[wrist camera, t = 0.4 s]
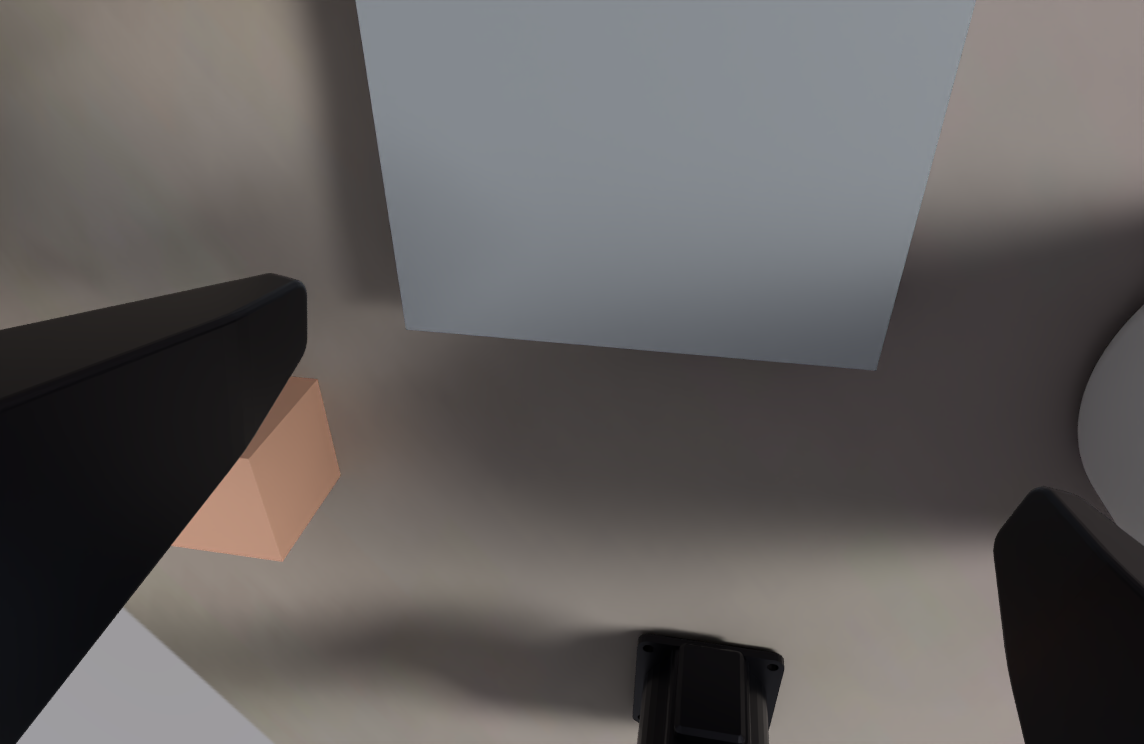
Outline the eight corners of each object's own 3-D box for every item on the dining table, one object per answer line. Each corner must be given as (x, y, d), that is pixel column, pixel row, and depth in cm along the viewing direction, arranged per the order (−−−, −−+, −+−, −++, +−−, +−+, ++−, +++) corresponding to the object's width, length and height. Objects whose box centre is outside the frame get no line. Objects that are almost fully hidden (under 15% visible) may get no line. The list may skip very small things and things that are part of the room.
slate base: (860, 319, 23) (875, 370, 20) (438, 287, 25) (405, 329, 22) (1001, -265, 15) (1056, -299, 13) (374, -240, 17) (314, -264, 15)
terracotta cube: (341, 474, 31) (282, 561, 27) (236, 461, 32) (163, 544, 28) (318, 378, 28) (248, 458, 24) (203, 366, 29) (117, 443, 25)
